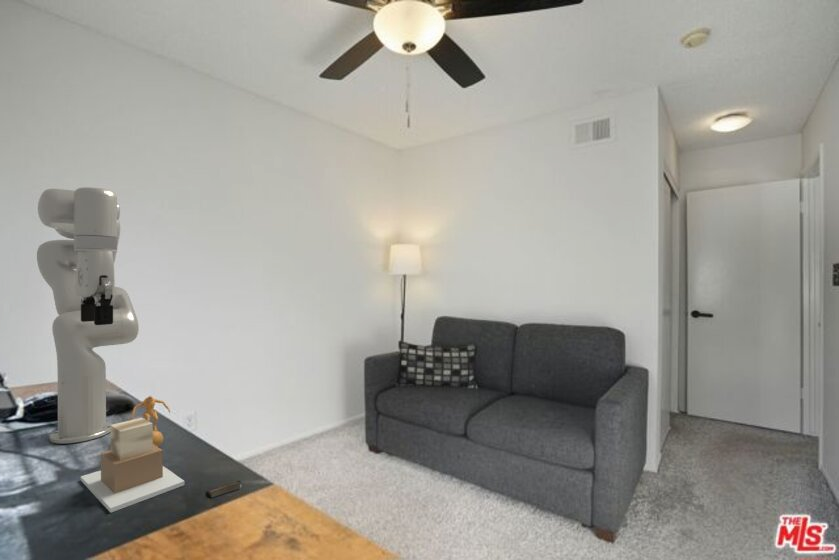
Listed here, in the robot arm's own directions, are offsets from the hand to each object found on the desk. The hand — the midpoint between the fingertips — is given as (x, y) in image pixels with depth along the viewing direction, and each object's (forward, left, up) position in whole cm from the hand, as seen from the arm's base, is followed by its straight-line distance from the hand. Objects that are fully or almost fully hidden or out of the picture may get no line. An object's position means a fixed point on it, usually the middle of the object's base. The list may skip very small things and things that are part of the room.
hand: (96, 322), depth 92 cm
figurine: (+2, +10, -31) cm, 32 cm away
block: (+35, +11, -31) cm, 48 cm away
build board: (+18, +1, -30) cm, 35 cm away
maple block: (+18, +1, -24) cm, 30 cm away
